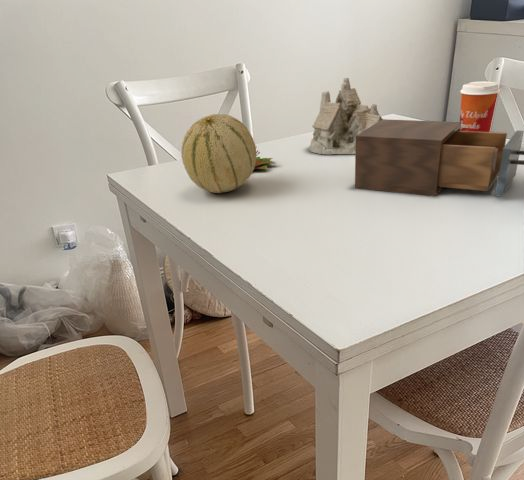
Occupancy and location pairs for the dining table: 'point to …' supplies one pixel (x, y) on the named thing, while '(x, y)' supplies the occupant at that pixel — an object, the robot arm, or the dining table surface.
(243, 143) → the cantaloupe
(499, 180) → the drawer
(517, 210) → the dining table surface
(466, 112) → the paper cup
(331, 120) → the ceramic cottage
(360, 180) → the cabinet
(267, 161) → the lily flower
